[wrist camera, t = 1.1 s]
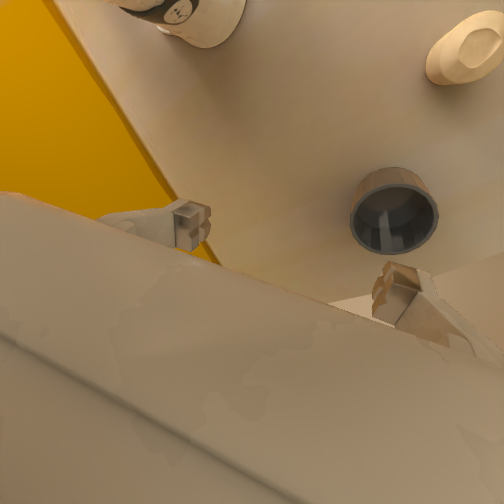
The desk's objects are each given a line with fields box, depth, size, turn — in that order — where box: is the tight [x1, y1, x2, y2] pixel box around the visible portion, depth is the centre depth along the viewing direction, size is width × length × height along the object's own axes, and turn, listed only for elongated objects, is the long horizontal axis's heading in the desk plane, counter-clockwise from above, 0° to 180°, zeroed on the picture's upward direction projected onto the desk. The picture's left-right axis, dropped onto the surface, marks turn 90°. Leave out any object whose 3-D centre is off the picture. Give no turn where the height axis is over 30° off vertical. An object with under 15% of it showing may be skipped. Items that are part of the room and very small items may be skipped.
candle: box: [425, 11, 504, 85], centre depth 27 cm, size 6×6×10 cm
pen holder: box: [350, 167, 439, 255], centre depth 38 cm, size 11×11×9 cm
